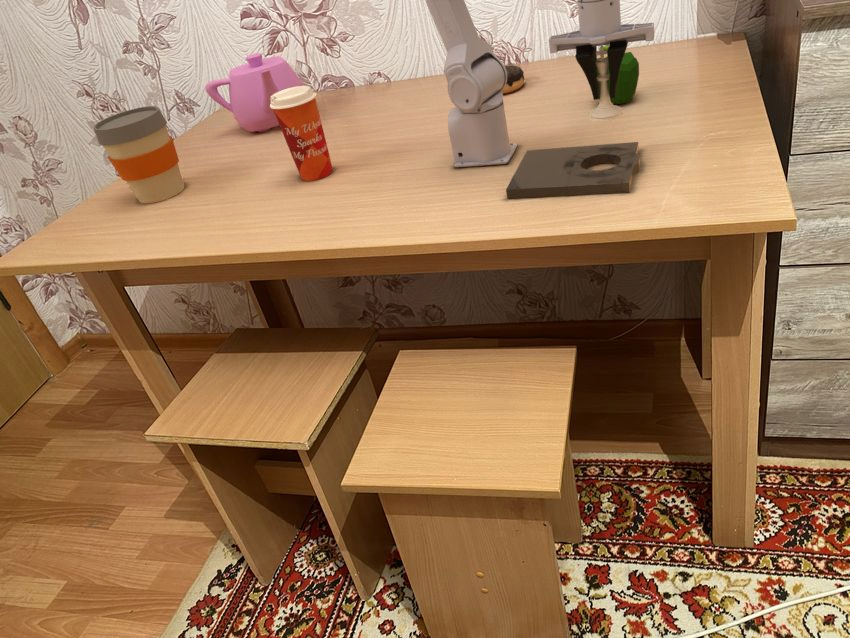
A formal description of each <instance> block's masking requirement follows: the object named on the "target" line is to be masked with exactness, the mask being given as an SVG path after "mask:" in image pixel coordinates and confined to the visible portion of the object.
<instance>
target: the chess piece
mask: <svg viewBox="0 0 850 638" xmlns="http://www.w3.org/2000/svg"><path fill="white" fill-rule="evenodd" d="M603 46H604V45H603ZM603 46H599V48H600V50H597V52H596V56H597V57H598V56H600V58H601V59H599V60H597V61H596V66H597V68H598V71H599V73H600V75H599V76H598V77H597V79H596V80H597V81H601V85H600V100H599V103H598V105H597V107H595V108H593V109H592V110H591V111H590V112H589V120H590V121H592V122H597V123H604V122H611V121H615V120H617V119H619V118H621V117H622V116H623V114H624V112H623V109H622V107H620V106H618V105H616V104H615V105H614V103H611V100H610V95H609V90H608V84H607V80H609V79H610V75H607V71H608V66H609V63H608V59H607V58H606V57H605V55H607V50H604V51H603Z"/></svg>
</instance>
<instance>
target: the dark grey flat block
mask: <svg viewBox="0 0 850 638" xmlns="http://www.w3.org/2000/svg"><path fill="white" fill-rule="evenodd" d="M639 144H640V143H639V141H632V142H631V141H630V142H619V143H607V144H593V145H579V146H565V147H552V148H543V149H542V148H541V149H527V150H526V151H525V153H524V155H523V157H522V159H521V160H520V162H519V164H518V166H517V168H516V170H515V172H514V174H513V176H512V178H511V180H510V181H509V184H508V185H507V187H506V189H505V192H506V197H507V200H510V199H512V200H513V199H529V198H545V197H547V198H549V197H566V196H569V197H570V196H584V195H585V196H586V195H603V194H604V195H605V194H623V193H630V192H631V189H632V183H633V179H634V177H635V176H636V175H637V174H639V172H640V168H641V156H640V155H639V151H640V149H639V148H640V147H639V146H640V145H639ZM600 164H614V165H615V166H612V167H609V168H605V169H599V170H592V169H586V168H589V167H591V166H596V165H600Z"/></svg>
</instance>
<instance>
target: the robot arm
mask: <svg viewBox="0 0 850 638" xmlns="http://www.w3.org/2000/svg"><path fill="white" fill-rule="evenodd" d="M424 1H425V3H426V5H427V8H428V11H429V13H430V15H431V17H432V20H433V23H434V25H435V27H436V29H437V32H438V34H439V36H440V39H441V41H442V43H443V46H444V48H445V50H446V52H447V53H446V59H445V63H444V66H443V74H444V75H445V78H446V81H447V93H448V97H449V99H450V101H451V103H452V104H453V106H454V108H453V107H452V108H451V109H450V110H449V112H448V116H447V128H448V135H449V140H450V144H451V150H452V154H453V159H454V164H453V166H454V167H453V168H466V167H481V166H483V167H484V166H494V165H495V166H497V165H506V164H508V163H509V162H510V160H511V158H512V156H513V155H514V153H515V151H516V149H517V148H518V143H516V142H515V143H512V142H511V141H510V135H509V129H508V123H507V117H506V110H505V102H504V94H503V92H502V90H503V88H504V87H505V85H506V83H507V71H506V68H505V66H506V65H505V64H504V63H503V62H502V60H501V59H500V58H499V57H498V56H497V55H496V54H495V52H494V50H493V47H492V45H491V44H490V43H489V42H487V41H485V40H484V39H483V38H481V37H480V36H479V33H478V31H477V29H476V26H475V24H474V21H473V19H472V16H471V13H470V12H469V9H468V7H467V4H466V1H465V0H424ZM576 4H577V14H578V15H577V16H578V27H579V30H576V31H575V30H574V31H570V32H566V33H562V34H561V33H560V34H556V35H551V36H550V37H549V39H548V46H549V53H550V54H557V53H558V52H562V51H563V52H564V51H571V50H575V55H574V58H575V61H576V62H577V64H578V66H579V67H580V68H581V70H582V72H583V73H584V76H585V77H586V80H587V82H588V85H589V87H590V90H591V95H592V99H593V101H598V100H599V96H600V87H599V81H597V80H596V79H597V77H598V72H597V66H596V61H597V58H598V55H597V56H596V52H597V51H598V50H597V49H598V47H600V46H609V48H608V50H607V54H606V55H607V56H608V63H609V73H610V98H615V97H616V89H617V80H618V75H619V70H620V66H621V62H622V59H623V56H624V54H625V53H626V52H627V49H628V45H629V43H634V42H642V41H643V42H644V41H645V42H654V40H655V22H646V23H645V22H644V23H626V24H622V18H621V16H622V15H621V0H576ZM510 142H511V143H510Z"/></svg>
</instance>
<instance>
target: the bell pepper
mask: <svg viewBox="0 0 850 638" xmlns="http://www.w3.org/2000/svg"><path fill="white" fill-rule="evenodd" d="M609 46H610V45H603V51H604V50H608V48H609ZM598 51H600V47H598ZM605 58H607V59H608V55H607V56H605ZM599 59H601V57H597V60H599ZM597 72H598V76H599V75H600V73H599V71H598V68H597ZM607 75H610V73H609V66H608V71H607ZM639 76H640V63H639V61H638V59H637V57H635V55H634V54H633V52H632V51H625V54H624V56H623V59H622V62H621V66H620V70H619V75H618V80H617V89H616V97H615V98H610V100H611V103H613V104H615V105H621V104H626V103H629V102H631V101H632V99H634V98H633V97H634V96H635V94H636V92H637V88H638V82H639ZM607 84H608V90H609V95H610V79H609V80H607ZM600 85H601V81H599V87H600ZM598 100H599V101H600V96H599V99H598Z"/></svg>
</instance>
